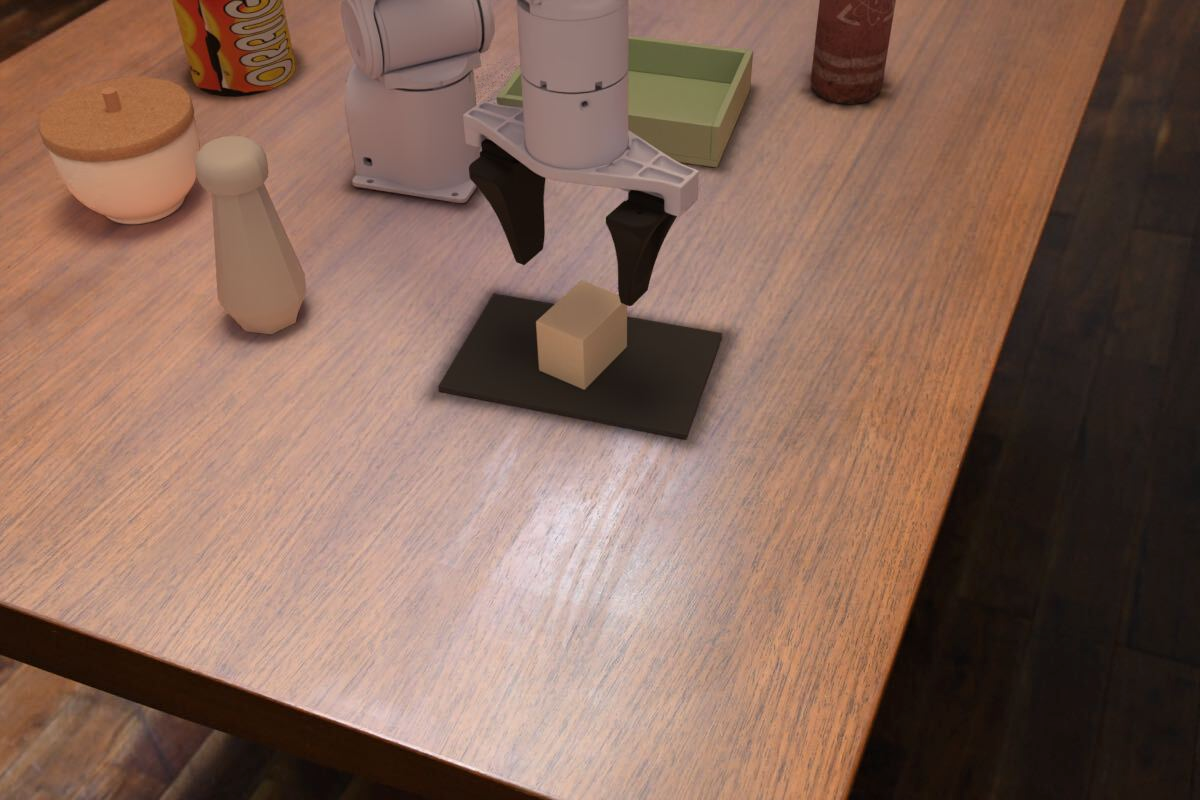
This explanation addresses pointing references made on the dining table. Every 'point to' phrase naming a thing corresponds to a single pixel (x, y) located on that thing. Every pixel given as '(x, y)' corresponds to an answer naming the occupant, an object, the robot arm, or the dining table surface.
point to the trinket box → (124, 146)
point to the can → (851, 49)
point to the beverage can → (236, 44)
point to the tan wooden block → (581, 334)
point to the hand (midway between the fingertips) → (580, 275)
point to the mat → (617, 396)
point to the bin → (677, 96)
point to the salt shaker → (249, 237)
